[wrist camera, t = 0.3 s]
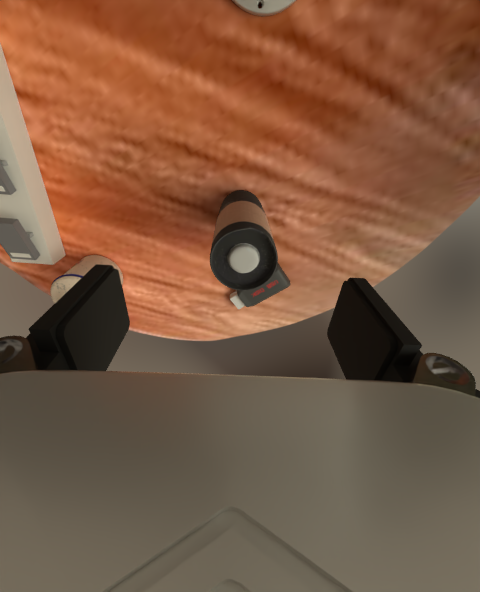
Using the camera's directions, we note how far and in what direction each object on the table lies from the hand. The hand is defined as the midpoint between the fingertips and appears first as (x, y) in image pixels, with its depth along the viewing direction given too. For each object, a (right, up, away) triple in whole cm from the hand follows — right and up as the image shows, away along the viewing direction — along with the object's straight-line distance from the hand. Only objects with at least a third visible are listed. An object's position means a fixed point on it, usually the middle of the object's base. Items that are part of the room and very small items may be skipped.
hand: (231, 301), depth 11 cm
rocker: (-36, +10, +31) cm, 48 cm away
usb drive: (+4, +3, +42) cm, 43 cm away
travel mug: (+1, +15, +34) cm, 37 cm away
